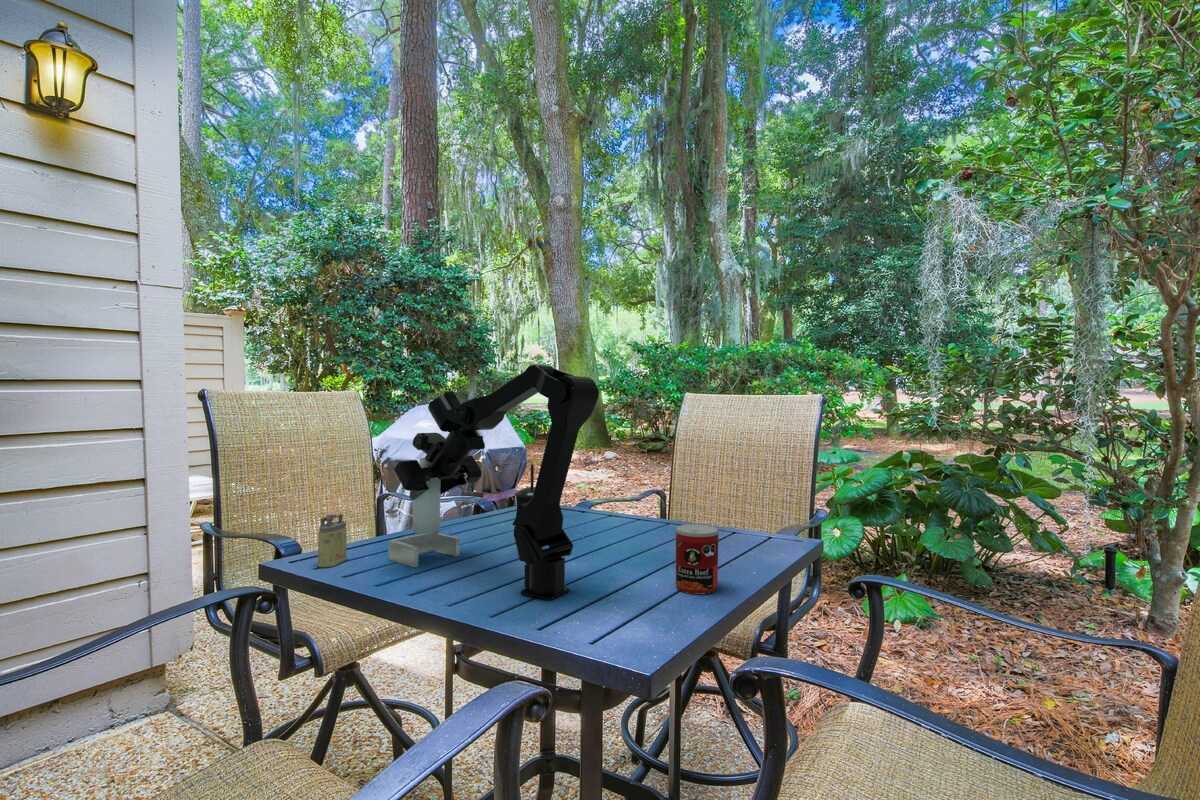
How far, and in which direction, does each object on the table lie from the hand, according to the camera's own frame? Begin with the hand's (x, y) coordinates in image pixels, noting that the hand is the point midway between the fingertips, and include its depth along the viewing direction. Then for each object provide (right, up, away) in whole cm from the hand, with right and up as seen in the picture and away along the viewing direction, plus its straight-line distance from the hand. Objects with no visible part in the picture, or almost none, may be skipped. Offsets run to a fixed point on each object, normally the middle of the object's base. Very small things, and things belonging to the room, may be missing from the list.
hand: (423, 496), depth 126 cm
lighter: (-17, -13, -5) cm, 22 cm away
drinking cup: (+23, -14, +4) cm, 27 cm away
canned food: (+56, -14, -19) cm, 61 cm away
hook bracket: (0, -13, 0) cm, 13 cm away
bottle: (+1, -7, -1) cm, 7 cm away
